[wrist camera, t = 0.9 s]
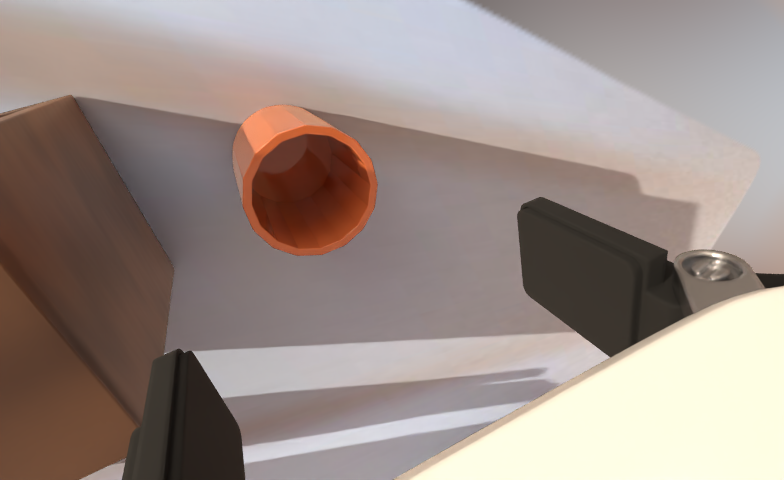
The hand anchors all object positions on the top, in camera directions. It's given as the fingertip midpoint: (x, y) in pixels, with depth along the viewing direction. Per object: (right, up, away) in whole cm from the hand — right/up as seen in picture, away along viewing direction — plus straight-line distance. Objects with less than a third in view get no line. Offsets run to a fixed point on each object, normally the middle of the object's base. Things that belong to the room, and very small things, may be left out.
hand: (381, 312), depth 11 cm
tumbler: (-6, +7, +15) cm, 18 cm away
